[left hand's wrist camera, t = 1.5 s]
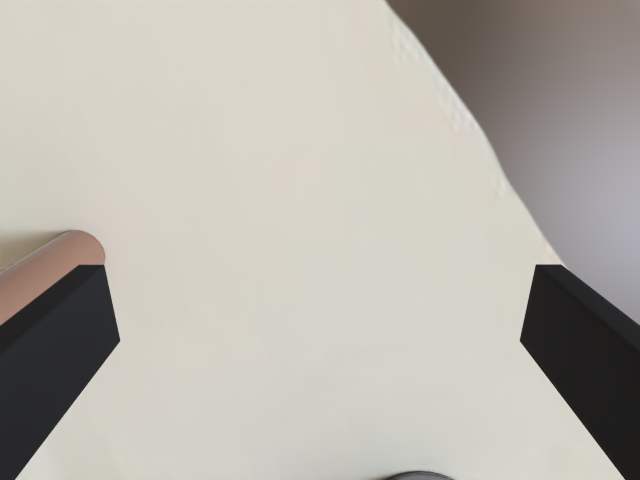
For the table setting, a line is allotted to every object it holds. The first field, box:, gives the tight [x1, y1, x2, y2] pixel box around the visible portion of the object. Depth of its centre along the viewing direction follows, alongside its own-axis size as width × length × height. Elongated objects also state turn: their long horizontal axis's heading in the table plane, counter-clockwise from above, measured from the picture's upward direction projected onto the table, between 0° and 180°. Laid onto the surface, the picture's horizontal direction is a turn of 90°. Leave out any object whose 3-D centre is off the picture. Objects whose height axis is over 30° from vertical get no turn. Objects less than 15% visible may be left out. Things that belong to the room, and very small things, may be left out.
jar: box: [0, 230, 105, 325], centre depth 35 cm, size 5×5×17 cm
